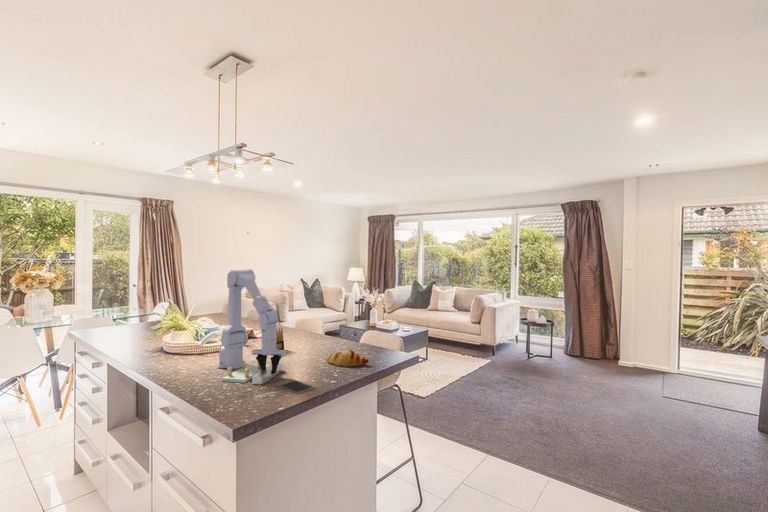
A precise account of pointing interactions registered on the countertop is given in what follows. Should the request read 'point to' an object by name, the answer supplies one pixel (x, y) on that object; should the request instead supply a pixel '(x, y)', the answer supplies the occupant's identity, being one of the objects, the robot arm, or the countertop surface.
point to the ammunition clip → (279, 339)
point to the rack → (242, 373)
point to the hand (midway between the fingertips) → (268, 372)
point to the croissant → (346, 359)
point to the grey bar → (266, 374)
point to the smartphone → (295, 386)
